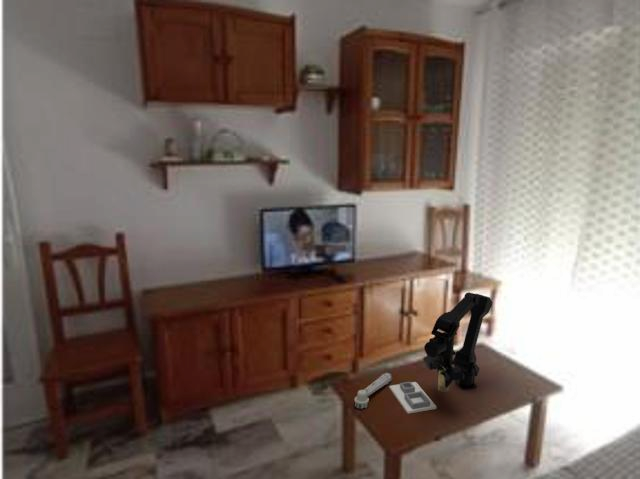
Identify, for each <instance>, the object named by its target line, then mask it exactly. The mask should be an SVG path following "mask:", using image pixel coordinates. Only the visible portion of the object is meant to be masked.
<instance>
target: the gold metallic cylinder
mask: <svg viewBox="0 0 640 479" xmlns="http://www.w3.org/2000/svg"><path fill="white" fill-rule="evenodd" d="M445 371H446V369H444V368H440V369H439V376H438V375H437V376H438V379H437V380H438V381H437V382H438V383H437V389H438V391H440V392H444V393H446V392H449V390H450V385H449V386H448V387H445V379H444V376H443V375H442V374H441V373H444V372H445Z"/></svg>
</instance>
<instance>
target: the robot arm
mask: <svg viewBox="0 0 640 479" xmlns="http://www.w3.org/2000/svg"><path fill="white" fill-rule="evenodd" d="M492 306H493V301H492V299H491V297H489V296H488V295H487V296H486V295H482V294H480V293H473V292H468V291H467V292H466V293H465V294H464V296H463V298H462V299H461V300H460V301H459V302H458V303H457V304H456V305H455V306H454V307H453V308H452V309H451V310H450V311H447V312H444V313H442V314H441V315H439V316H438V318H437V319H436V321H435V323H434V325H433V328H432V330H431V331H430V332H431V333H430V335H432V336H433V337H431V338H429V340H428V341H427V342H425V343H424V344H425V345H424V347H423V348H424V352H425V354H426V356H424V357H423V358H422V361H423V363H424V366H425V367H426V368H427V369H428V370H429V371H433V370H435V371H436V372H437V376H439V369H440V368H444V369H446V371H445V372H444V373H441V374H442V375H443V376H444V379H445V387H448V386H449V387H450V385H451V383H452V382H453V381H455V383H456V384H457V385H458V386H459V387H460V389H461V390H467V389H472V388H473V389H474V388H477V385H476V384H475V380H476V379H475V378H476V377H477V376H478V374H479V372H480V367H479V366H478V364H477V363H476V362H477V355H476V351H475V349H476V347H477V342H478V338H479V334H480V331H481V328H482V324H483V320H484V318H485V317H486V316H487V315H488V314H489V313H490V311H491V309H492ZM469 312H470V318H469V322H468V325H467V329H466V331H465V336H464V339H463V344H462V347H461V348H460V349H459V350H457V351H455V350H454V343H455V336H457V335H458V332H457V331H458V330H459V327H460V326H461V324H460V322H461V320H463V318H465V316H466V315H467V314H468V313H469ZM452 365H453V366H452Z"/></svg>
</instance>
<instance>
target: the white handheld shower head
mask: <svg viewBox="0 0 640 479" xmlns="http://www.w3.org/2000/svg"><path fill="white" fill-rule="evenodd" d="M392 380H393V376H392V374H391V373H390V372H385V373H382V374H381V375H379V377H378V378H377V379H376V380H374V381H373V382H372V383H371V384H369V385H368V386H367V387H366V388H364V389H359V390H358V391H357V395H356V396H355V397H354V403H355V404H354V406H355V408H357V409H358V410H361V409H363V408H364V409H367V407H368V405H369V404H368V403H369V402H370V399H369V396H371V395H372V394H374V393H375V392H376V391H378V390H379V389H381V388H382V387H384V386H387V385H389V383H390V382H391V381H392Z"/></svg>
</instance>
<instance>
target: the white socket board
mask: <svg viewBox="0 0 640 479" xmlns="http://www.w3.org/2000/svg"><path fill="white" fill-rule="evenodd" d="M388 388H389V390H390V391H391V393H392V394H393V395H394V397H395V398H396V400H397V401H398V403H399V404H400V406H402V408H403V410H404V411H405V413H406V414H409V415H410V414H415V413H420V412H425V411H431V410H436V409H437V405H436V404H435V403H434V402H433V400H432V399H431V398H430V396H428V395H427V393H426V392H425V391H424V390H423V388H422V387H421V386H420V385H419V384H418V382H416V381H412V382H411V381H405V382H400V383H398V384H392V385H389V386H388Z"/></svg>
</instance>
